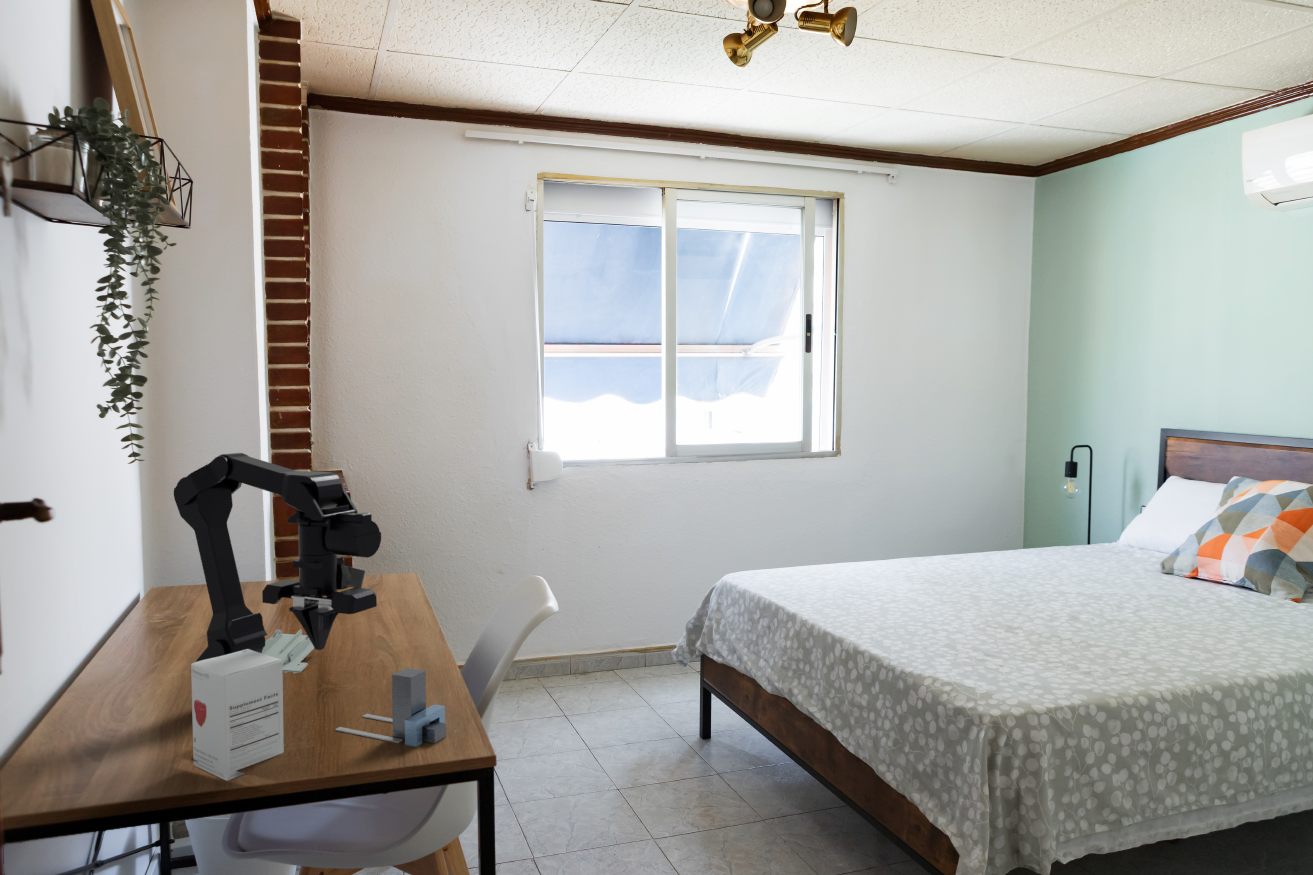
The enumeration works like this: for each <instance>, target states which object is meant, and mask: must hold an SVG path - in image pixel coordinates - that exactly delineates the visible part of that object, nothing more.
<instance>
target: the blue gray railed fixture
mask: <svg viewBox="0 0 1313 875" xmlns="http://www.w3.org/2000/svg"><path fill="white" fill-rule="evenodd" d="M362 718H365V719H370V720H376V721H381V722H385V723H390V724H391V723H392V724H393V718H391V717H386V716H380V715H374V714H371V713H365V714H363V715H362ZM431 721H435V722H441V723H446V706H445V705H440V704H435V703H434V704H433V705H430V706H429V707H426V709H424V710H423V711H421V712H419V713H417V714H415V715H413V716H411V717H409V718H407V719H405V738H404V745H405V746H408V747H409V746H410V747H416V748H417V747H419V746H420V745H422V744H423V741H422V726H424V725H426V724H428V723H429V722H431ZM335 731H338V732H342V733H347V734H352V735H357V736H361V737H366V738H370V739H375V740H381V741H386V742H391V743H396V744H400V743H401V742H403V738H399V737H394V736H388V735H382V734H377V733H373V732H367V731H364V730H363V731H362V730H358V729H352V728H348V727H342V726H339V727H337V728H335Z"/></svg>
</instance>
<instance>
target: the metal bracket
mask: <svg viewBox="0 0 1313 875" xmlns="http://www.w3.org/2000/svg"><path fill="white" fill-rule="evenodd" d="M313 650H315V648H314V646H313V644H312V642H311V641H310V639H309V637H308V635H307V634H303V629H299V630H298V631H297V632H296V633H294V634H292V633H283V632H282V629H276V630H275V632H274V633H273V634H272V636H271V637H270V638H268V639H265V647H263V650H262V653H264V654H267V655H268V656H271V657H274V658H278V659H281V660H282V673H287V672H293V673H292V674H300V673H302V672H303V670H305V668H307V667H308V665H309V664H308V663H307V662H302V661H303V660H304V659H305V658H306V657H308V655H309V654H310V653H311V652H312V651H313Z"/></svg>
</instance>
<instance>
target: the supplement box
mask: <svg viewBox="0 0 1313 875" xmlns="http://www.w3.org/2000/svg"><path fill="white" fill-rule="evenodd" d="M190 667H191V668H190V671H191V672H190V673H191V676H190V678H191V710H192V711H191V712H192V719H191V720H192V750H193V753H192V754H193V756H192V757H193V766H195V767H197V768H199V769H200V770H202V771H205V772H207V773H209V774H211V775H212V776H215V777H217V778H220V779H221V780H224V781H226V782H228V781H231V780H233V779H236V778H238V777H241V776H244V775H246V774H248V773H247V772H243V771H240V770H241V769H244V768H247V767H249V766H252V765H255V764H258V763H261V762H263V761H266V760H268V759H271V758H273V757H276V756H279V755H281V754H283V753H284V704H283V703H284V698H283V696H284V694H283V692H284V689H283V685H284V683H283V682H284V680H283V675H284V674H283V673H284V672H283V671H282V660H281V659H278V658H274V657H271V656H268V655H267V654H264V653H259V652H256V651H253V650H250V649H245V650H242V651H238V652H234V653H231V654H227V655H223V656H219V657H215V658H210V659H205V660H201V661H198V662H196V661H195V662H193V663H191V664H190ZM238 770H239V771H238Z"/></svg>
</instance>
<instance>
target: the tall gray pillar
mask: <svg viewBox="0 0 1313 875" xmlns="http://www.w3.org/2000/svg"><path fill="white" fill-rule="evenodd" d="M426 672H427V671H426V670H423V669H418V668H417V669H416V668H409V667H406V668H403V669H401V670H399V671H397V672H395V673H392V674H391V695H392V696H391V698H392V699H391V700H392V702H391V705H392V707H391V708H392V716H391V717H392V719H393V723H392V737H394V738H399V739H405V719H407V718H409V717H411V716H413V715H415V714H417V713H419V712H421V711H423V710H424V709H426V708H427V676H426V674H427V673H426ZM445 738H447V723H446V722H445V723H441V722H435V721H431V722H429V723H428V724H426V725H424V726H422V742H427V743H430V744H436V743H438V742H439V741H441V740H443V739H445Z"/></svg>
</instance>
